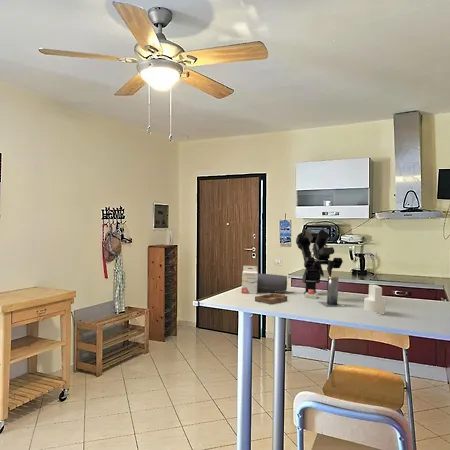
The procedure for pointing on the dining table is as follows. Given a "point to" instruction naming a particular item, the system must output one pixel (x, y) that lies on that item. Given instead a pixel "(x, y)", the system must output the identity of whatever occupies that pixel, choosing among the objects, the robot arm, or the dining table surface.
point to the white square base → (311, 295)
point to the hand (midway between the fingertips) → (326, 275)
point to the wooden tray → (271, 298)
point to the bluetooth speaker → (271, 283)
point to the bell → (332, 290)
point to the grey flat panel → (332, 305)
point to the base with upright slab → (375, 300)
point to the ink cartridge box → (249, 279)
